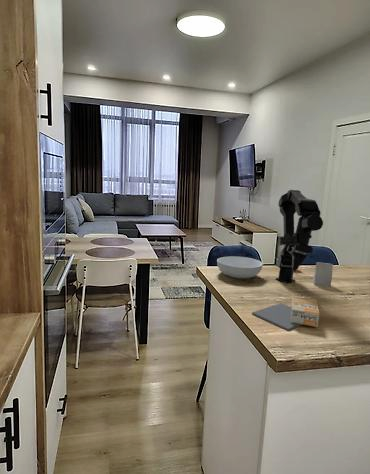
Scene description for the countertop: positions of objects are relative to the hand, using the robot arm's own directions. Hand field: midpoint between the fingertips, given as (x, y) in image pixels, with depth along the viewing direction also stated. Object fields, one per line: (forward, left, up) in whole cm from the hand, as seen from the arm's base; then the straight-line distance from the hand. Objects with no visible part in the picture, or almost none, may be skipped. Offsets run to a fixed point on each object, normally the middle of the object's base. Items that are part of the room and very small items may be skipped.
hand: (293, 270), depth 129 cm
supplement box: (+10, +11, -7) cm, 17 cm away
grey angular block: (-26, -1, -11) cm, 28 cm away
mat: (+19, +11, -10) cm, 25 cm away
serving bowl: (-2, -29, -11) cm, 31 cm away
